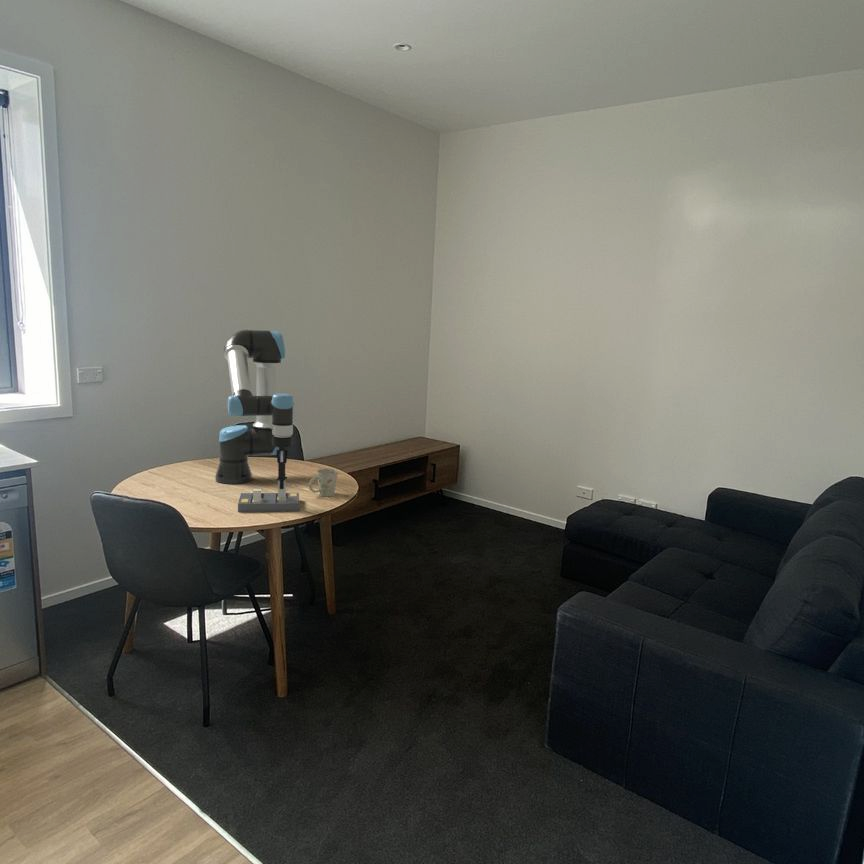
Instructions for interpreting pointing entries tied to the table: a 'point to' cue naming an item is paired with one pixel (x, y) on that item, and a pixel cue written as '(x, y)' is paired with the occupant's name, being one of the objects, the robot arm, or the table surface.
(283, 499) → the tab
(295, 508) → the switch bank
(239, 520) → the table surface
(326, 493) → the mug
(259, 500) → the tab
